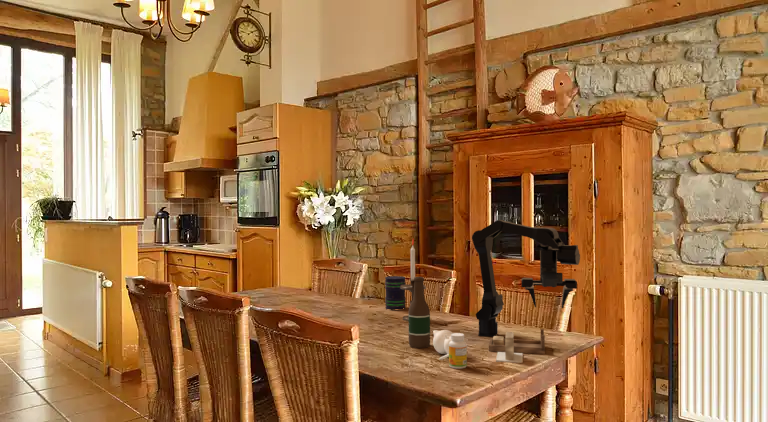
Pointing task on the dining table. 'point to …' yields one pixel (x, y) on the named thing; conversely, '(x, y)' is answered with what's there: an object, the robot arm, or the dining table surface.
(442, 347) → the cat figurine
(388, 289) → the storage jar
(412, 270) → the candlestick
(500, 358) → the felt pad
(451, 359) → the supplement bottle
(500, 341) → the offcut stack
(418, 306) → the beer bottle
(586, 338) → the dining table surface
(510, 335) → the birch sheet
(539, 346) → the rack
